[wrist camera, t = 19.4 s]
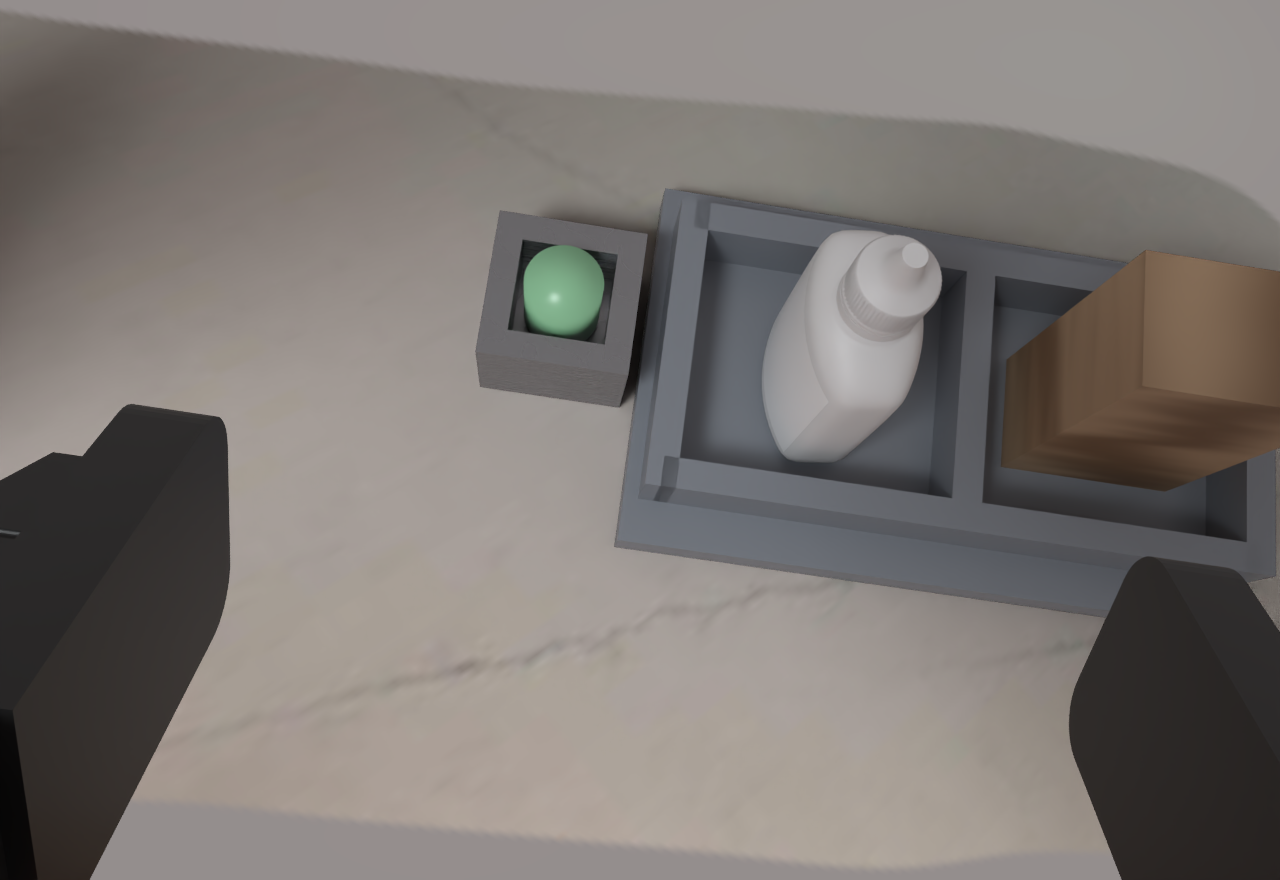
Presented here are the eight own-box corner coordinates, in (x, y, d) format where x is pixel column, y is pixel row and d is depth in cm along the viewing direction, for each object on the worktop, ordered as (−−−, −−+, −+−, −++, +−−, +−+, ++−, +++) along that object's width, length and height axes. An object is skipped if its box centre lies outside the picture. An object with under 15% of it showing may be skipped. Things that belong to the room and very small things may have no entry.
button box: (480, 386, 43) (475, 351, 39) (502, 256, 44) (499, 210, 40) (619, 407, 43) (628, 374, 39) (637, 278, 44) (648, 233, 40)
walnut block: (1000, 466, 42) (1142, 385, 32) (1006, 359, 43) (1145, 249, 33) (1165, 491, 42) (1354, 419, 33) (1167, 384, 43) (1351, 283, 34)
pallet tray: (614, 547, 42) (623, 527, 38) (660, 206, 45) (673, 156, 41) (1221, 634, 43) (1291, 623, 39) (1224, 296, 46) (1288, 256, 42)
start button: (518, 342, 41) (517, 313, 38) (529, 271, 42) (530, 239, 39) (593, 353, 41) (598, 326, 38) (603, 283, 42) (609, 251, 39)
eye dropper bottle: (716, 424, 41) (790, 303, 30) (789, 293, 43) (886, 129, 31) (827, 486, 41) (945, 388, 30) (896, 352, 43) (1035, 208, 31)
